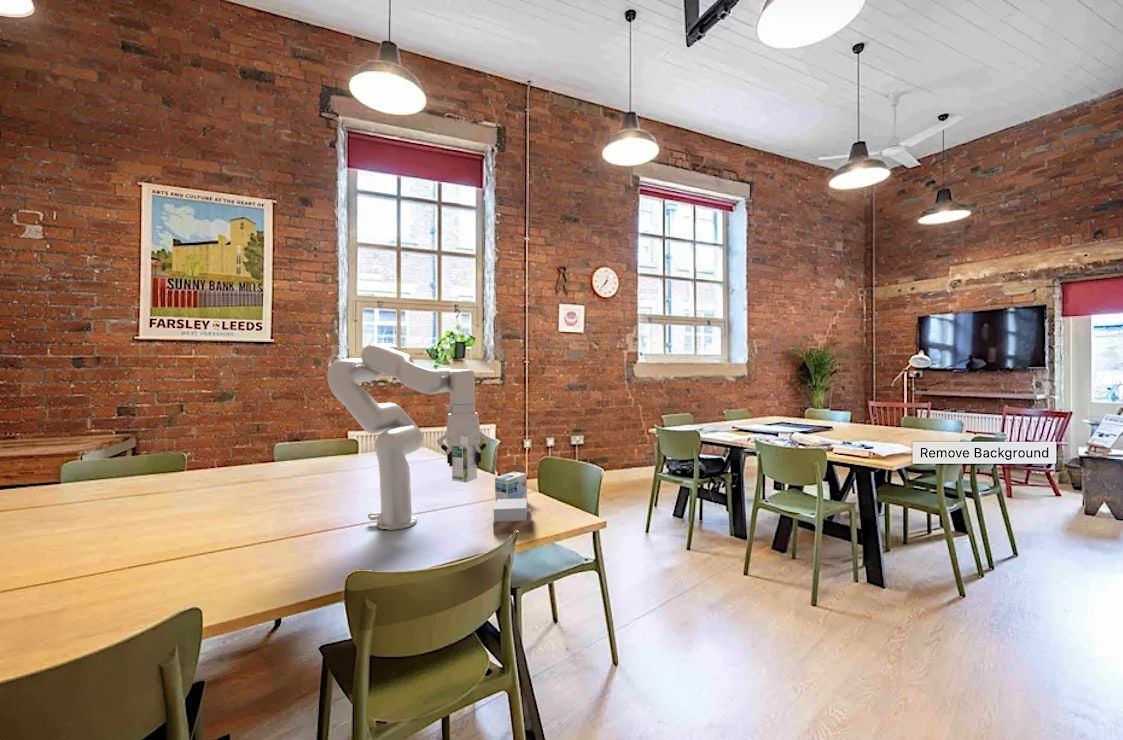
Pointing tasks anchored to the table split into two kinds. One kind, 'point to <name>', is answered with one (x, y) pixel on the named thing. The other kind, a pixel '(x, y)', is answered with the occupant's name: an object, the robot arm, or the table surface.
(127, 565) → the table surface
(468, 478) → the syrup box
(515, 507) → the grey slab
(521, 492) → the light bulb box
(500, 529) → the walnut slab
